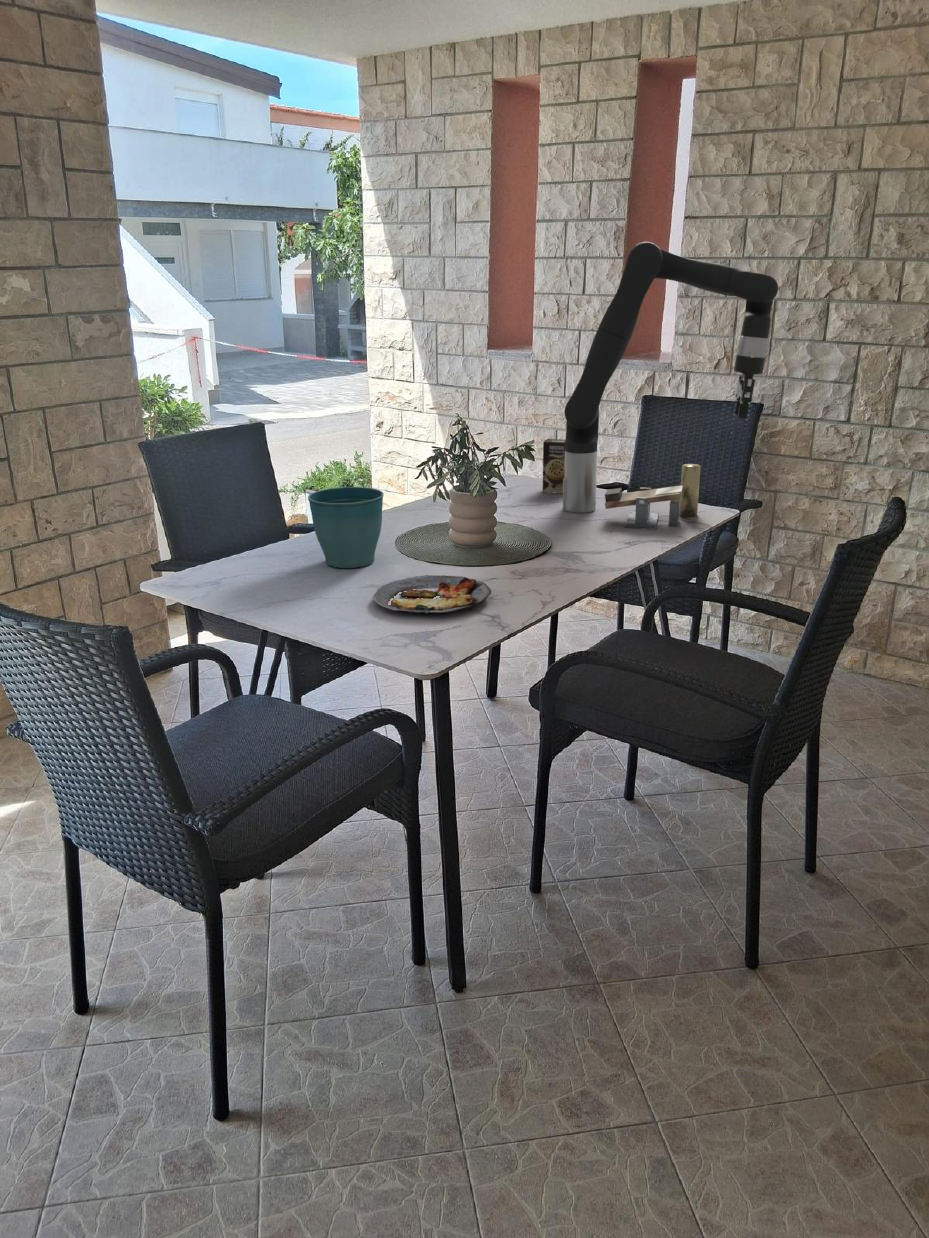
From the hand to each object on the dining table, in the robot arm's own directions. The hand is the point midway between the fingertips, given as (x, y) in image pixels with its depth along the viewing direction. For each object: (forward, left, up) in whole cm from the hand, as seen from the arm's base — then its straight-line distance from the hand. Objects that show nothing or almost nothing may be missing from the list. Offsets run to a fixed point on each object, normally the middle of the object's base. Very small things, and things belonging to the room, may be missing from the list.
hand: (740, 416), depth 254 cm
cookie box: (-53, +21, -28) cm, 63 cm away
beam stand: (-21, -12, -28) cm, 37 cm away
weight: (-12, -2, -28) cm, 30 cm away
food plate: (-63, -85, -28) cm, 109 cm away
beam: (-24, -12, -21) cm, 34 cm away
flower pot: (-91, -62, -28) cm, 114 cm away
